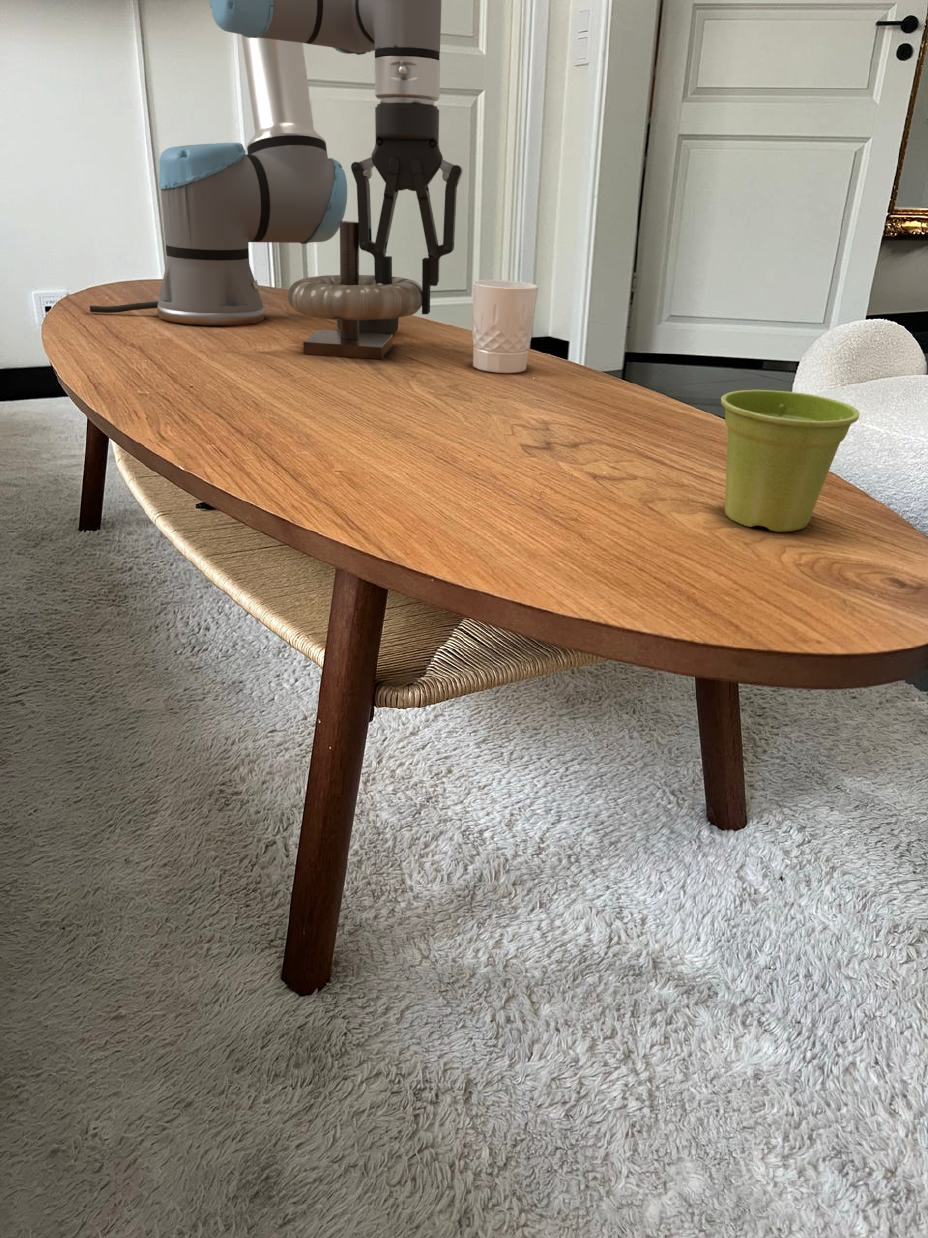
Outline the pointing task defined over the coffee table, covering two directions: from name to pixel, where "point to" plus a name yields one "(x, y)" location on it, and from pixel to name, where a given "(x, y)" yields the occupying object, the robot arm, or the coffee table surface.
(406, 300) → the taupe ribbed ring
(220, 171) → the robot arm
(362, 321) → the smart speaker
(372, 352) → the stand
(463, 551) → the coffee table surface
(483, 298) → the white cup
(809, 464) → the plant pot
